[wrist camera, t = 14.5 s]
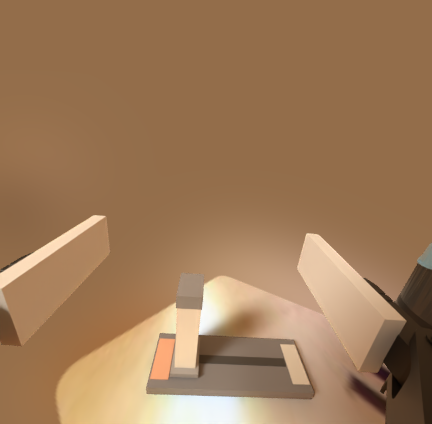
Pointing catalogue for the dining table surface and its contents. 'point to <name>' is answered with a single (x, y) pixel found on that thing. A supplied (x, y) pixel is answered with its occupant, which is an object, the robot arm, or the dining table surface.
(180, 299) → the lever
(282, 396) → the switch board
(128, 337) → the dining table surface
